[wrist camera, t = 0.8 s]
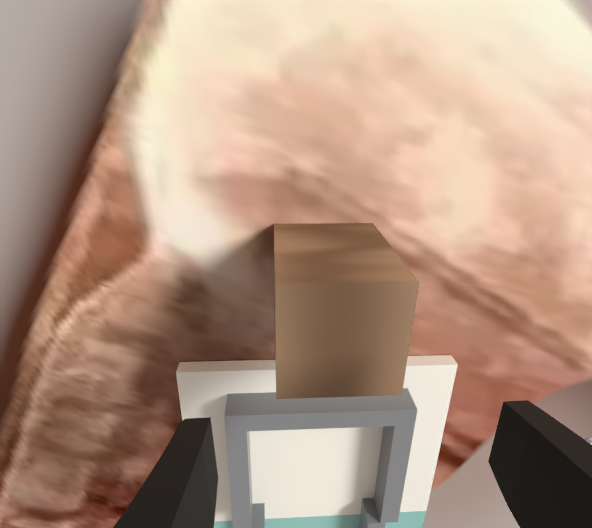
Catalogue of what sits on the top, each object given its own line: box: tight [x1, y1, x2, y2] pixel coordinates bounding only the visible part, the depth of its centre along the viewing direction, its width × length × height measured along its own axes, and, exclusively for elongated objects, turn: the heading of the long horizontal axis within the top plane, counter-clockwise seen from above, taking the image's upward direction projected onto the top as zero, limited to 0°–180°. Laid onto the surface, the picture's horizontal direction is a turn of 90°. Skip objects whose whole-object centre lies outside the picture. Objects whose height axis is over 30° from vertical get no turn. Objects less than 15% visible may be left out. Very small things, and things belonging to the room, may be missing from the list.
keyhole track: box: [176, 355, 458, 528], centre depth 23 cm, size 14×20×2 cm
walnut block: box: [274, 223, 419, 399], centre depth 16 cm, size 4×4×6 cm
